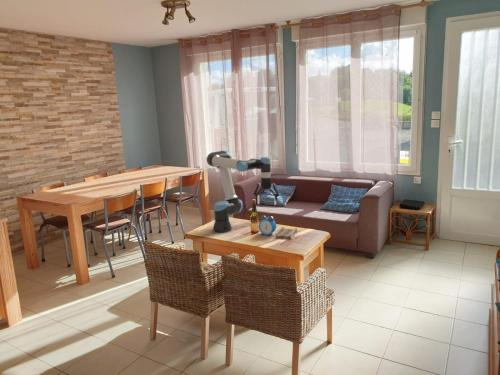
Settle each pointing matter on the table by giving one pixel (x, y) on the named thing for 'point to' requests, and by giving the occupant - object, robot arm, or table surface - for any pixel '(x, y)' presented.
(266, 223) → the alarm clock
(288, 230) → the plinth
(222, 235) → the table surface
